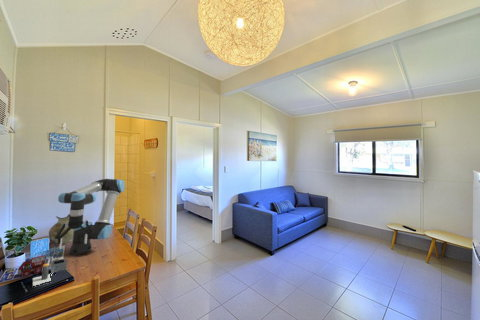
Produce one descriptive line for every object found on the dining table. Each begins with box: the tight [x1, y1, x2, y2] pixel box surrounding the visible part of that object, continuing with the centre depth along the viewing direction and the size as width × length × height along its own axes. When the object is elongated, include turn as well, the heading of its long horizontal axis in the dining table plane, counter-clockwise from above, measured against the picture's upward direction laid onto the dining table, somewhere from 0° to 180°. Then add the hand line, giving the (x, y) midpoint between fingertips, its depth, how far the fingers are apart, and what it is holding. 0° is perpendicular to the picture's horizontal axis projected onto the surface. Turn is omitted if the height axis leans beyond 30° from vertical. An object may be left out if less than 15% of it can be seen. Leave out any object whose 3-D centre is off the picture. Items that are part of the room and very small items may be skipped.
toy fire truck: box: [17, 254, 47, 278], centre depth 128 cm, size 7×12×10 cm, turn 138°
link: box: [49, 258, 68, 274], centre depth 132 cm, size 8×8×6 cm
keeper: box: [32, 262, 53, 287], centre depth 121 cm, size 10×10×10 cm
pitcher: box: [48, 213, 74, 244], centre depth 181 cm, size 22×24×25 cm
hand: (73, 245), depth 135 cm, fingers open, 13 cm apart
